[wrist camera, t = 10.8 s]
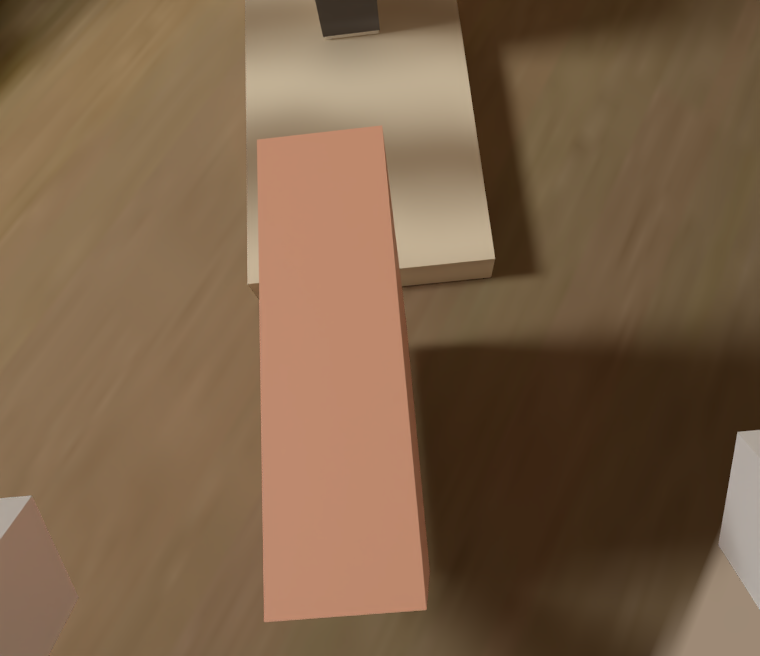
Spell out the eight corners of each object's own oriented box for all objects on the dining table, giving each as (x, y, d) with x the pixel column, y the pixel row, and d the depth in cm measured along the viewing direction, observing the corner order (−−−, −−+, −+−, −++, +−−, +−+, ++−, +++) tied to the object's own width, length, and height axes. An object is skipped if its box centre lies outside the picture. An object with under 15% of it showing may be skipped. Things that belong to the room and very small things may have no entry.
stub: (429, 571, 17) (426, 609, 8) (356, 577, 17) (264, 622, 8) (406, 327, 19) (382, 125, 10) (342, 333, 19) (257, 139, 10)
